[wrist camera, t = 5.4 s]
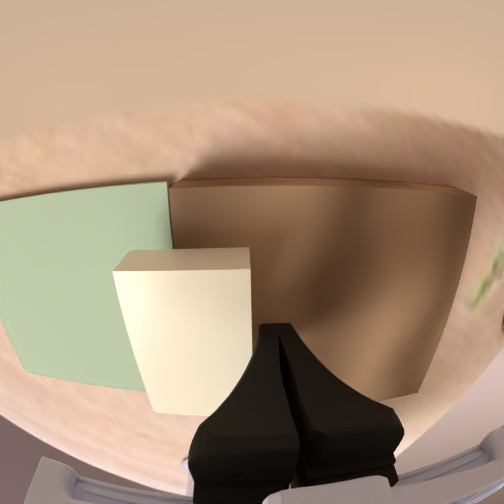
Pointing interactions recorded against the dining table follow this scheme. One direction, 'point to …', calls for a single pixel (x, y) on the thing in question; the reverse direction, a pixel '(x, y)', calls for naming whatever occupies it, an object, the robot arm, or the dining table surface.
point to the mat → (76, 277)
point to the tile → (187, 323)
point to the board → (341, 265)
